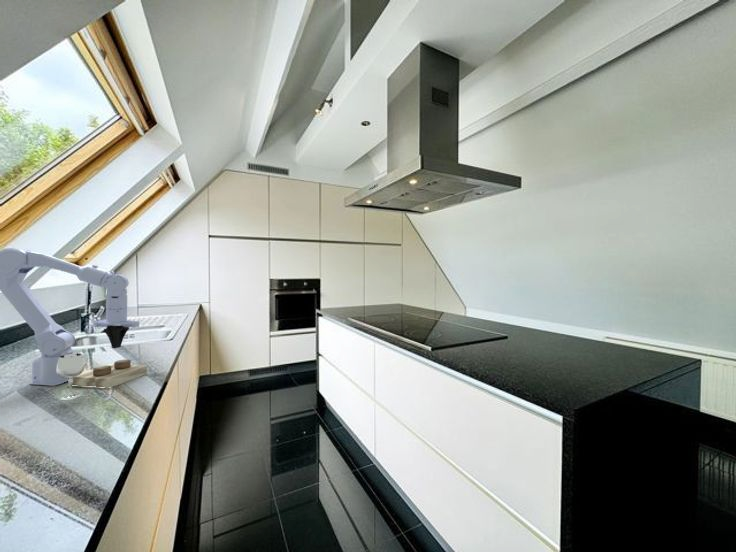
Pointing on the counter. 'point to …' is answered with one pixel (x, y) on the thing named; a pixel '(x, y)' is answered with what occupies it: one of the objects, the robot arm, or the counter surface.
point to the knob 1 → (102, 370)
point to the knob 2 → (122, 364)
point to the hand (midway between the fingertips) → (116, 347)
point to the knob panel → (110, 376)
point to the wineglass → (70, 368)
